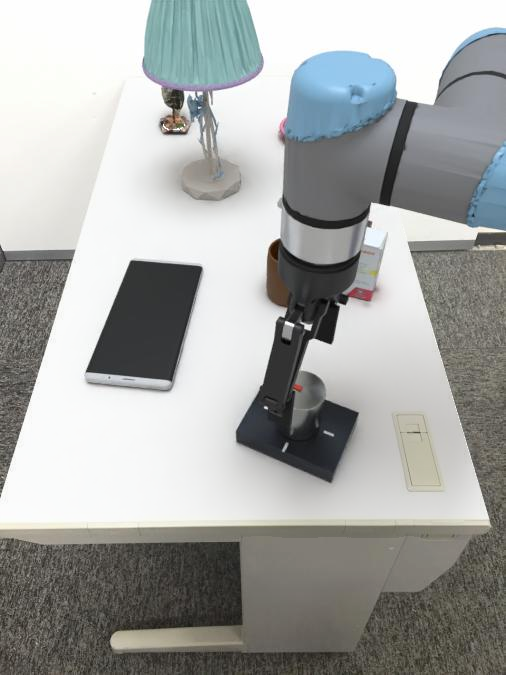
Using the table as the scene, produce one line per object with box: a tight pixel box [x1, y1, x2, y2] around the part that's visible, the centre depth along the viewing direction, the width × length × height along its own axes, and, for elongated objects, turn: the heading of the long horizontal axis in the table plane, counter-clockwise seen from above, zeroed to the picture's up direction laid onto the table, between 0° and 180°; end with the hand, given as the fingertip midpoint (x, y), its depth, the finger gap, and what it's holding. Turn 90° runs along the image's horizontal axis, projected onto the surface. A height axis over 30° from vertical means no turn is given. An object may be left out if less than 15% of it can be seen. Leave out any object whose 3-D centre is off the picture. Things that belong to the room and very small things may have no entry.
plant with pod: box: [158, 86, 192, 134], centre depth 122 cm, size 8×11×20 cm
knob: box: [277, 370, 327, 441], centre depth 69 cm, size 6×6×8 cm
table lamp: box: [141, 0, 265, 201], centre depth 98 cm, size 22×22×40 cm
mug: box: [265, 237, 290, 307], centre depth 88 cm, size 12×8×9 cm, turn 67°
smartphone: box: [84, 257, 204, 391], centre depth 87 cm, size 13×27×2 cm, turn 173°
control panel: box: [235, 389, 360, 484], centre depth 73 cm, size 14×10×3 cm
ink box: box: [342, 227, 389, 302], centre depth 89 cm, size 9×5×12 cm, turn 67°
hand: (302, 378), depth 65 cm, fingers open, 13 cm apart
